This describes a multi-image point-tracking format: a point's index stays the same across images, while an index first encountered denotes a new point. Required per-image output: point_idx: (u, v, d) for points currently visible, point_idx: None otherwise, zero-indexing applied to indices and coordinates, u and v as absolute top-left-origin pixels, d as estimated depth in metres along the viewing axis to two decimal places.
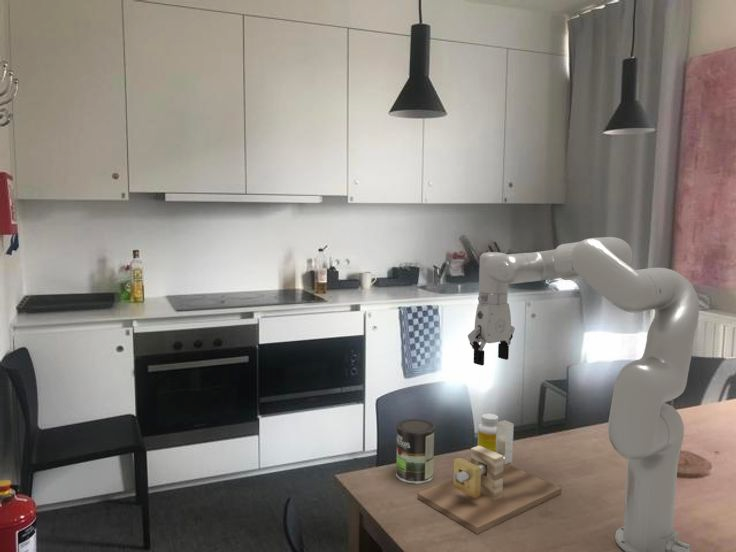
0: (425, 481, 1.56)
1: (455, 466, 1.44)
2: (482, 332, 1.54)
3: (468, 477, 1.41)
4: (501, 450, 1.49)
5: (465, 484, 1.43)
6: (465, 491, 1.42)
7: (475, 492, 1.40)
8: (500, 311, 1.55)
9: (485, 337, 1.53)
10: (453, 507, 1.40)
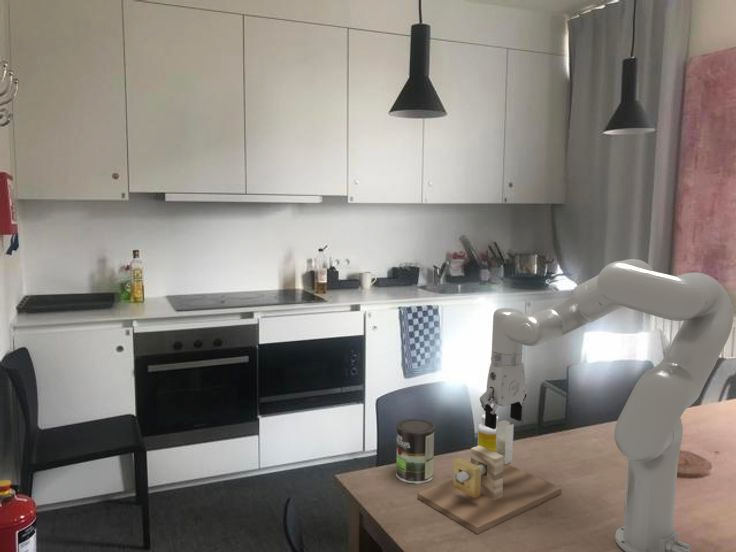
0: (425, 481, 1.56)
1: (455, 466, 1.44)
2: (495, 394, 1.45)
3: (468, 477, 1.41)
4: (501, 450, 1.49)
5: (465, 484, 1.43)
6: (465, 491, 1.42)
7: (475, 492, 1.40)
8: (514, 372, 1.46)
9: (498, 400, 1.44)
10: (453, 507, 1.40)
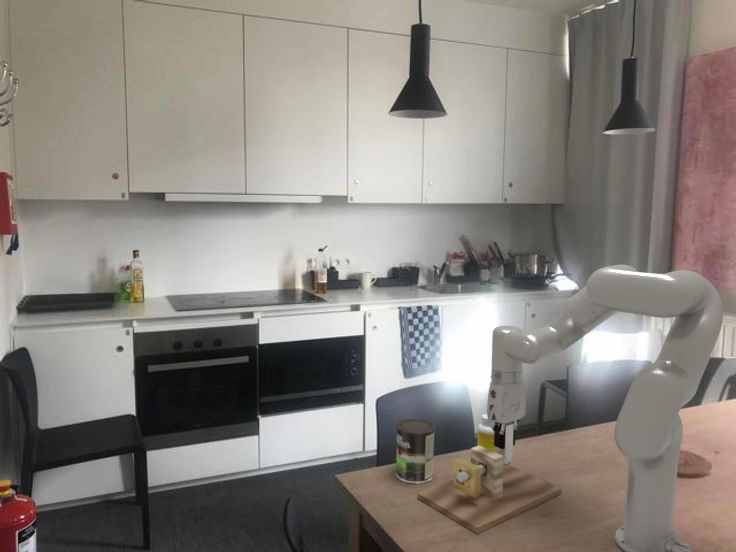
0: (425, 481, 1.56)
1: (455, 466, 1.44)
2: None
3: (468, 477, 1.41)
4: (501, 450, 1.49)
5: (465, 484, 1.43)
6: (465, 491, 1.42)
7: (475, 492, 1.40)
8: (514, 390, 1.46)
9: (499, 418, 1.44)
10: (453, 507, 1.40)
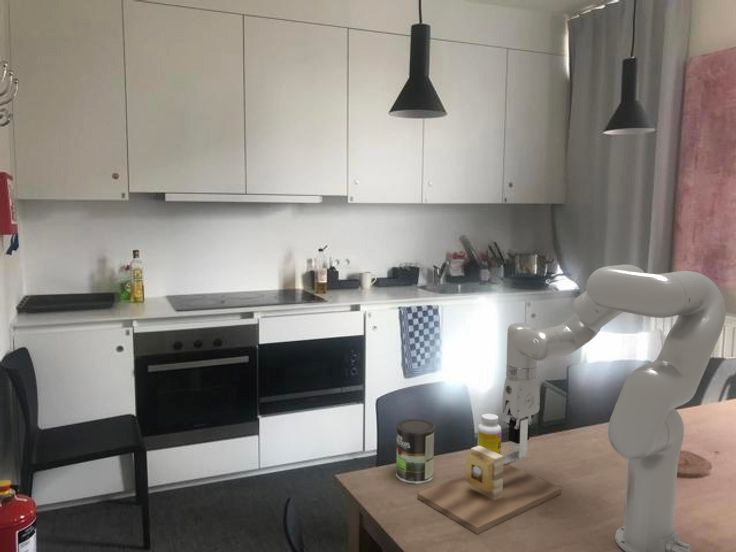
0: (425, 481, 1.56)
1: (468, 461, 1.47)
2: None
3: None
4: (516, 445, 1.52)
5: (478, 479, 1.45)
6: (477, 486, 1.45)
7: (488, 487, 1.42)
8: (529, 386, 1.49)
9: (514, 413, 1.48)
10: (453, 507, 1.40)
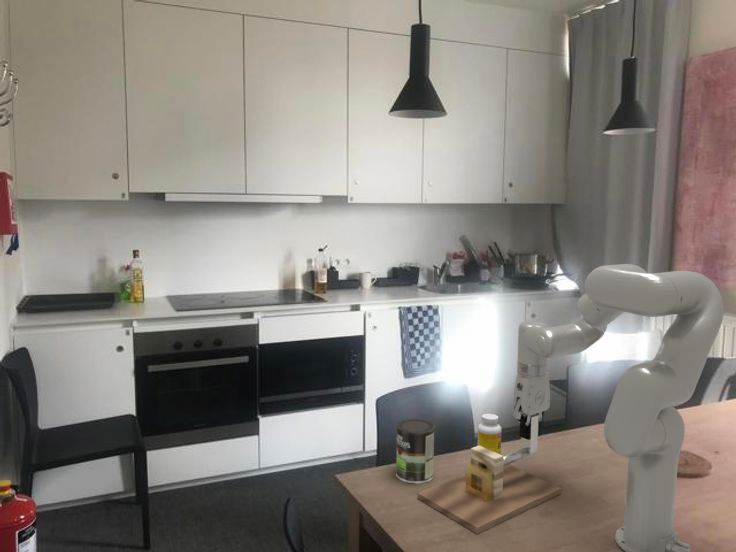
0: (425, 481, 1.56)
1: (467, 471, 1.47)
2: (523, 410, 1.51)
3: None
4: (527, 440, 1.55)
5: (477, 488, 1.46)
6: (477, 495, 1.45)
7: (487, 497, 1.43)
8: (540, 382, 1.52)
9: (525, 410, 1.50)
10: (453, 507, 1.40)
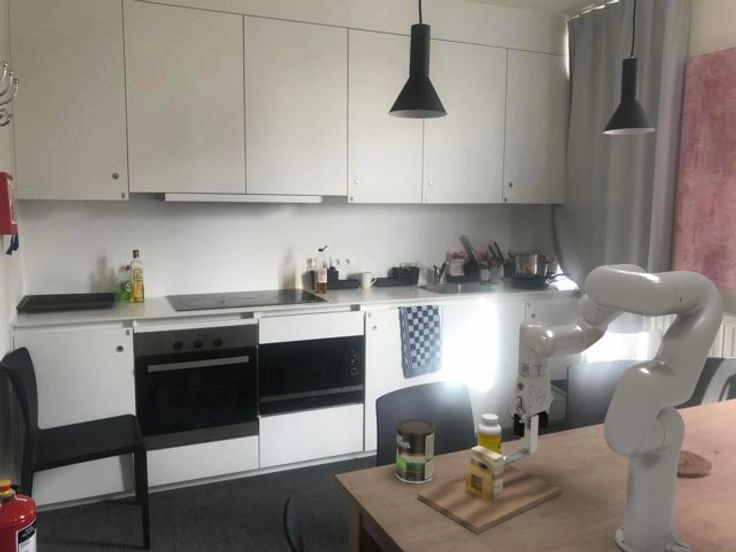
0: (425, 481, 1.56)
1: (467, 471, 1.47)
2: (523, 404, 1.51)
3: None
4: (526, 441, 1.55)
5: (477, 488, 1.46)
6: (477, 495, 1.45)
7: (487, 497, 1.43)
8: (541, 382, 1.52)
9: (526, 409, 1.51)
10: (453, 507, 1.40)
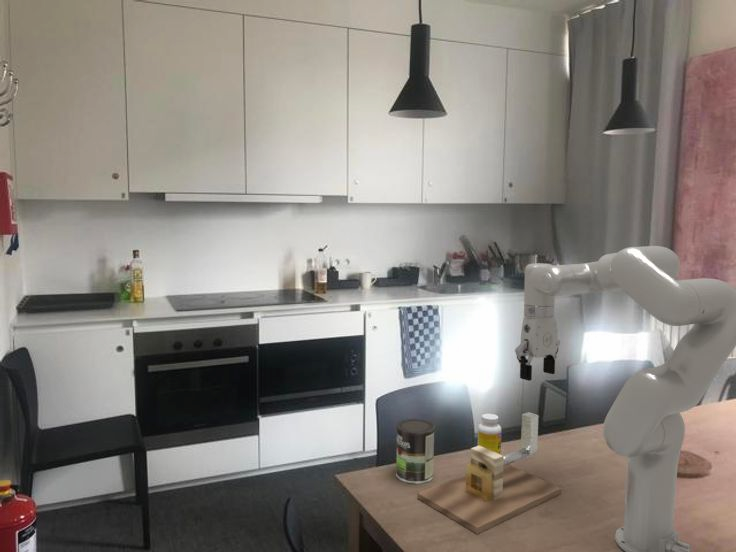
0: (425, 481, 1.56)
1: (467, 471, 1.47)
2: (529, 346, 1.49)
3: None
4: (526, 441, 1.55)
5: (477, 488, 1.46)
6: (477, 495, 1.45)
7: (487, 497, 1.43)
8: (547, 324, 1.50)
9: (533, 351, 1.48)
10: (453, 507, 1.40)
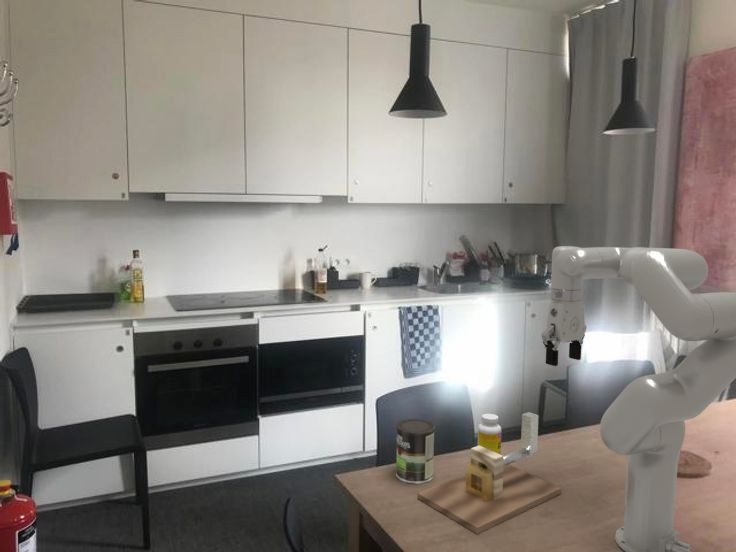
0: (425, 481, 1.56)
1: (467, 471, 1.47)
2: (556, 331, 1.45)
3: None
4: (526, 441, 1.55)
5: (477, 488, 1.46)
6: (477, 495, 1.45)
7: (487, 497, 1.43)
8: (575, 309, 1.46)
9: (560, 336, 1.44)
10: (453, 507, 1.40)
